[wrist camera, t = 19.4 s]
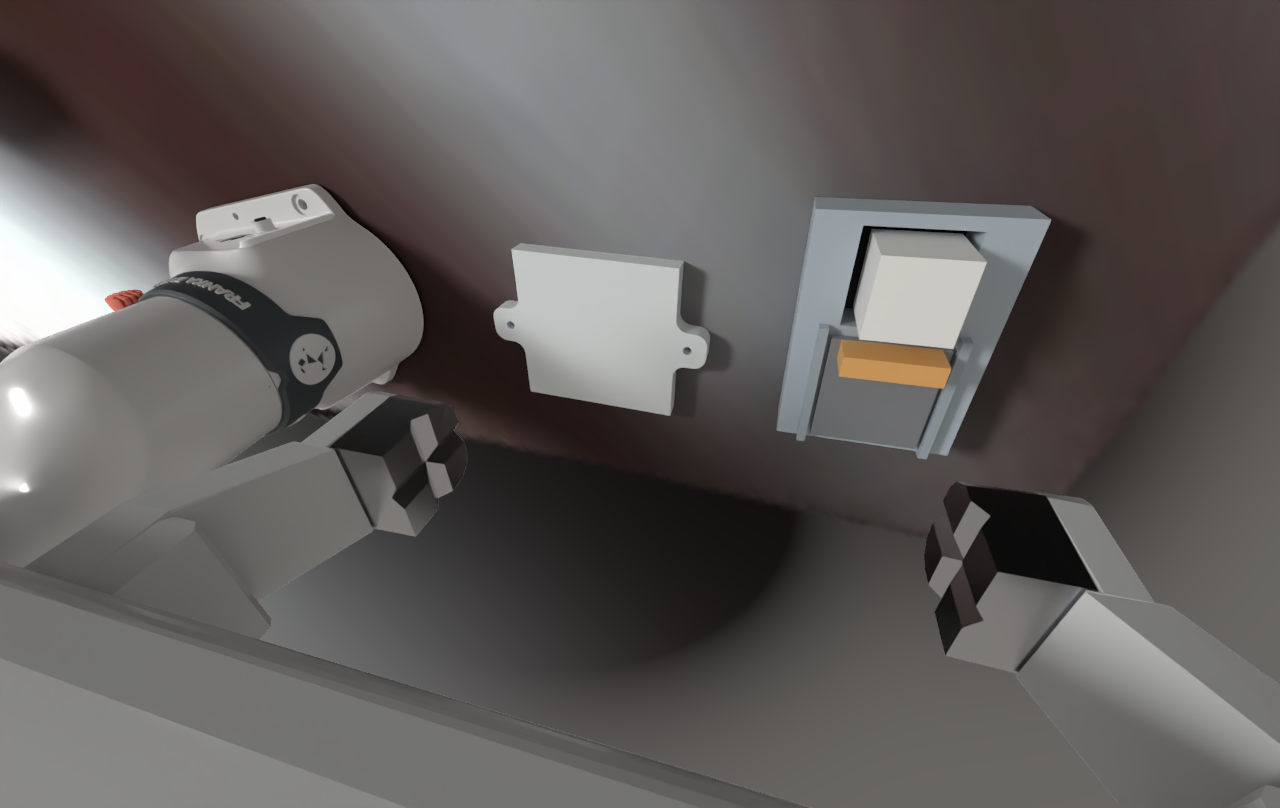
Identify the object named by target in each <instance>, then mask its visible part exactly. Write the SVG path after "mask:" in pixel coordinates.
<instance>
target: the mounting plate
mask: <svg viewBox="0 0 1280 808" xmlns="http://www.w3.org/2000/svg"><path fill="white" fill-rule="evenodd" d="M511 250H512V257H513V265H514V272H515V279H516V287H517V294H518V301H506V302H505V303H503V304H502V305H501V306H500V307H499V308H497V309H496V310H495V312H494V322H495V328H496V331H497V333H498V334H499V336H500V337H502V338H503V339H505V340H509V341H515V342H517V343H519V344H520V345H522V347H523V348H524V350H525V353H526V360H527V368H528V375H529V383H530V390H531V391H532V392H538V393H543V394H549V395H555V396H560V397H566V398H572V399H577V400H583V401H589V402H594V403H600V404H606V405H611V406H617V407H623V408H628V409H634V410H640V411H646V412H651V413H657V414H663V415H668V416H670V415H671V412H672V409H673V407H674V396H675V381H676V370H677V369H679V368H690V369H698V368H700V367H702V366H703V365H704V363H705V361H706V358H707V355H708V352H709V345H710V335H709V332H708V331H707V330H706V329H705V328H703V327H701V326H695V325H690V324H687V323H686V322H685V321H683V319H682V317H681V314H680V309H681V295H682V280H683V266H684V261H677V260H668V259H659V258H650V257H641V256H632V255H623V254H614V253H605V252H595V251H586V250H577V249H568V248H559V247H550V246H541V245H532V244H523V243H520V244H519V245H517V246H516V247H514V248H513V249H511Z"/></svg>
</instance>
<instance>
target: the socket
mask: <svg viewBox="0 0 1280 808" xmlns="http://www.w3.org/2000/svg"><path fill="white" fill-rule="evenodd" d="M1050 222H1051V219H1050V218H1048V217H1047V216H1045V215H1044V214H1042V213H1041V212H1039V211H1038V210H1037V209H1035V208H1034V207H1032V206H1020V205H996V204H971V203H947V202H923V201H898V200H874V199H850V198H825V197H815V200H814V206H813V211H812V217H811V223H810V229H809V234H808V240H807V246H806V252H805V257H804V263H803V269H802V275H801V280H800V286H799V292H798V298H797V303H796V309H795V315H794V321H793V326H792V332H791V338H790V344H789V349H788V355H787V361H786V367H785V373H784V378H783V384H782V390H781V396H780V401H779V407H778V417H777V430H776V431H782V432H789V433H795V434H796V440H799V441H805V437H806V435H809V436H816V437H823V438H830V439H837V440H844V441H850V442H857V443H864V444H871V445H878V446H885V447H892V448H899V449H906V450H912V451H916V455H917V458H921V459H927V457H928V454H929V453H933V454H940V455H948V452H949V450H950V448H951V446H952V443H953V441H954V439H955V437H956V434H957V432H958V430H959V428H960V425H961V423H962V421H963V419H964V416H965V414H966V412H967V410H968V407H969V405H970V403H971V400H972V398H973V396H974V394H975V391H976V389H977V387H978V385H979V382H980V380H981V378H982V376H983V373H984V371H985V369H986V367H987V364H988V362H989V360H990V358H991V355H992V353H993V351H994V349H995V346H996V344H997V342H998V340H999V337H1000V335H1001V333H1002V330H1003V328H1004V326H1005V324H1006V321H1007V319H1008V317H1009V315H1010V312H1011V310H1012V308H1013V306H1014V303H1015V301H1016V299H1017V297H1018V294H1019V292H1020V290H1021V288H1022V285H1023V283H1024V281H1025V279H1026V276H1027V274H1028V272H1029V269H1030V267H1031V265H1032V263H1033V260H1034V258H1035V256H1036V254H1037V251H1038V249H1039V247H1040V245H1041V242H1042V240H1043V238H1044V236H1045V233H1046V231H1047V229H1048V227H1049V224H1050ZM863 226H882V227H901V228H920V229H939V230H958V231H968V232H967V234H966V238H967V239H968V240H969V241H970V243H971V244H972V245H973V246H974V247H975V248H976V250H977V251H978V252H979V253H980V254H981V255H982V257H983V258H984V259H985V260H986V261H987V264H986V266H985V269H984V271H983V274H982V277H981V279H980V282H979V284H978V287H977V289H976V292H975V295H974V297H973V300H972V302H971V305H970V307H969V310H968V313H967V315H966V318H965V320H964V323H963V325H962V328H961V330H960V333H959V336H958V338H957V341H956V343H955V346H954V348H953V353H952V356H951V358H950V361H949V364H950V366H951V372H950V374H949V377H948V379H947V382H946V384H945V387H944V389H941V388H939V389H938V392H937V394H936V397H935V399H934V402H933V405H932V407H931V410H930V412H929V415H928V417H927V420H926V422H925V425H924V428H923V430H922V433H921V435H920V438H919V440H918V443H917V446H916V448H915V449H910V448H903V447H896V446H889V445H882V444H876V443H869V442H862V441H855V440H848V439H841V438H834V437H827V436H820V435H813V434H810V427H811V423H812V419H813V414H814V410H815V405H816V401H817V396H818V392H819V388H820V383H821V379H822V374H823V370H824V365H825V361H826V357H827V352H828V348H829V343H830V339H831V334H834V335H844V336H854V337H859V336H858V330H857V325H856V319H855V314H854V308H844V306H845V302H846V297H847V293H848V289H849V285H850V280H851V276H852V272H853V267H854V263H855V259H856V255H857V250H858V246H859V242H860V238H861V233H862V229H863Z"/></svg>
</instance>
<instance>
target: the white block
mask: <svg viewBox="0 0 1280 808" xmlns="http://www.w3.org/2000/svg"><path fill="white" fill-rule="evenodd" d="M986 264H987V261H986V260H985V259H984V258H983V257H982V255H981V254H980V253H979V252H978V251H977V250H976V248H975V247H974V246H973V245H972V244H971V243H970V241H969V240H968V239H967V238H966V237H965V236H964V234H959V233H941V232H922V231H904V230H885V229H871V233H870V238H869V242H868V246H867V250H866V254H865V258H864V262H863V266H862V270H861V274H860V278H859V283H858V287H857V291H856V295H855V299H854V303H853V308H854V314H855V319H856V325H857V330H858V336H859V339H860V340H869V341H879V342H889V343H899V344H909V345H919V346H929V347H938V348H948V349H953V348H954V346H955V343H956V341H957V338H958V336H959V333H960V330H961V328H962V325H963V323H964V320H965V318H966V315H967V313H968V310H969V307H970V305H971V302H972V300H973V297H974V295H975V292H976V289H977V287H978V284H979V282H980V279H981V277H982V274H983V271H984V269H985V266H986Z"/></svg>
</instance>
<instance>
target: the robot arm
mask: <svg viewBox="0 0 1280 808" xmlns="http://www.w3.org/2000/svg"><path fill="white" fill-rule="evenodd" d="M196 224H197V232H198V237H199V241H200V242H197V243H194V244H191V245H188V246H185V247H182V248H179V249H176V250H174V251H173V252H172V253H171V255H170V258H169V271H170V279H167V280H164V281H162V282H160V283H159V284H157V285H155V286H154V287H153V289H152V290H150V291H148V292H147V293H145V294H143V293H142V291H140V290H128V291H121V292H119V293H114V294H112V295H109V296H108V297H107V298H105V301H106V302H107V304H108V305H109V306H110V307H111V308H112V309H113V310H114V311H115V312H112V313H109V314H107V315H104V316H101V317H99V318H96V319H93V320H91V321H88V322H85V323H83V324H80V325H77V326H75V327H72V328H69V329H67V330H64V331H61V332H59V333H56V334H53V335H50V336H48V337H45V338H42V339H40V340H37V341H34V342H32V343H29V344H26V345H24V346H22V347H20V348H18V349H17V350H15V351H14V352H12V353H11V354H10V355H9V356H8V357H6V358H5V359H4V360H3V361H2V362H1V363H0V808H812V807H808V806H805V805H802V804H798V803H795V802H792V801H788V800H785V799H782V798H779V797H775V796H772V795H769V794H765V793H762V792H759V791H756V790H752V789H749V788H745V787H742V786H739V785H736V784H732V783H729V782H726V781H723V780H719V779H716V778H713V777H710V776H706V775H703V774H700V773H696V772H693V771H690V770H687V769H683V768H680V767H676V766H673V765H670V764H667V763H663V762H660V761H657V760H654V759H650V758H647V757H644V756H640V755H637V754H634V753H630V752H627V751H624V750H620V749H617V748H614V747H611V746H607V745H604V744H600V743H597V742H594V741H591V740H588V739H584V738H581V737H578V736H575V735H571V734H568V733H564V732H562V731H558V730H555V729H551V728H548V727H545V726H542V725H538V724H535V723H531V722H528V721H525V720H522V719H519V718H515V717H512V716H509V715H505V714H502V713H499V712H496V711H492V710H489V709H486V708H483V707H479V706H476V705H473V704H469V703H466V702H463V701H460V700H456V699H453V698H449V697H446V696H443V695H440V694H437V693H433V692H430V691H427V690H423V689H420V688H417V687H413V686H410V685H407V684H404V683H400V682H397V681H394V680H390V679H387V678H384V677H380V676H377V675H374V674H371V673H367V672H364V671H360V670H357V669H354V668H351V667H347V666H344V665H341V664H337V663H334V662H331V661H328V660H324V659H321V658H318V657H314V656H311V655H308V654H305V653H301V652H298V651H295V650H291V649H288V648H285V647H281V646H278V645H275V644H272V643H268V642H265V641H261V640H259V639H260V638H261V637H262V636H263V635H264V634H265V633H266V632H267V630H268V629H269V628H270V626H271V618H270V616H269V615H268V614H267V613H266V611H265V610H264V609H263V607H262V606H261V605H260V604H259V602H258V601H260V600H261V599H263V598H265V597H266V596H268V595H269V594H271V593H273V592H274V591H276V590H278V589H279V588H281V587H283V586H284V585H286V584H288V583H289V582H291V581H292V580H294V579H296V578H297V577H299V576H301V575H302V574H304V573H306V572H307V571H309V570H310V569H312V568H314V567H315V566H317V565H318V564H320V563H322V562H323V561H325V560H327V559H328V558H330V557H332V556H333V555H335V554H336V553H338V552H340V551H341V550H343V549H345V548H346V547H348V546H350V545H351V544H353V543H354V542H356V541H358V540H359V539H361V538H363V537H364V536H366V535H368V534H369V533H371V532H372V531H373V528H374V529H379V530H385V531H390V532H395V533H400V534H406V535H411V536H417V535H418V533H419V532H420V531H421V530H422V528H423V527H424V526H425V525H426V523H427V522H428V521H429V520H430V518H431V517H432V516H433V515H434V514H435V512H436V511H437V510H438V507H439V506H438V498H439V497H441V496H443V495H445V494H447V493H449V492H451V491H453V490H454V488H455V487H456V486H457V484H458V483H459V482H460V481H461V479H462V477H463V474H464V471H465V468H466V465H467V451H466V447H465V443H464V441H463V440H462V439H461V438H460V437H459V436H458V435H457V433H456V432H455V431H454V430H455V428H456V426H457V424H458V419H457V416H456V413H455V410H454V407H452V406H450V405H448V404H447V403H444V402H438V401H433V400H427V399H421V398H416V397H410V396H405V395H396V394H391V393H385V392H380V391H374V392H368V393H365V394H364V395H363V396H361V397H360V398H359V399H357V400H356V401H355V402H354V403H352V404H351V405H350V406H348V407H347V408H346V409H344V410H343V411H342V412H341V413H339V414H338V415H337V416H335V417H334V418H333V419H331V420H330V421H329V422H327V423H326V424H325V425H324V426H322V427H321V428H320V429H318V430H317V431H316V432H314V433H313V434H312V435H311V436H309V437H308V438H307V439H305V440H304V441H303V442H301V443H298V442H291V443H288V444H285V445H283V446H280V447H277V448H274V449H271V450H268V451H265V452H263V453H260V454H257V455H254V456H251V457H248V458H246V459H243V460H240V461H237V462H234V463H232V464H229V465H226V466H224V465H225V464H227V463H228V462H229V461H231V460H232V459H233V458H235V457H236V456H237V455H239V454H240V453H241V452H243V451H244V450H245V449H247V448H248V447H249V446H251V445H252V444H253V443H255V442H256V441H258V440H259V439H260V438H262V437H263V436H267V435H273V434H276V433H278V432H280V431H282V430H283V429H285V428H286V427H289V426H291V425H293V424H295V423H296V422H298V421H299V420H301V419H302V418H303V417H304V416H305V414H307V413H308V412H310V411H311V410H312V409H314V408H318V409H320V410H323V409H327V408H330V407H332V406H333V405H335V404H337V403H338V402H340V401H342V400H343V399H345V398H347V397H348V396H350V395H352V394H353V393H355V392H356V391H358V390H360V389H361V388H363V387H365V386H366V385H368V384H369V383H371V382H374V383H377V384H385V383H387V382H388V381H390V380H392V379H393V377H394V376H395V373H396V371H397V368H398V364H399V363H400V362H401V361H402V360H404V359H405V358H407V357H408V356H410V355H411V354H412V353H413V352H414V351H415V350H416V348H417V347H418V345H419V343H420V341H421V338H422V334H423V325H424V321H423V311H422V306H421V303H420V299H419V296H418V294H417V291H416V289H415V286H414V284H413V282H412V280H411V278H410V277H409V275H408V273H407V272H406V270H405V269H404V267H403V266H402V264H401V263H400V261H399V260H398V259H397V258H396V256H395V255H394V254H393V253H392V252H391V251H390V250H389V248H388V247H387V246H386V245H385V244H384V243H382V242H381V241H380V240H379V239H378V238H377V237H376V236H375V235H373V234H372V233H371V232H369V231H368V230H366V229H365V228H364V227H362V226H361V225H359V224H358V223H356V222H355V221H354V220H353V219H351V218H350V217H349V216H348V215H347V214H346V213H345V212H344V211H343V209H342V208H341V207H340V206H339V204H338V203H337V202H336V201H335V200H334V199H333V197H332V196H331V195H330V194H329V193H328V192H327V191H326V190H325V189H323V188H322V187H321V186H319V185H316V184H310V185H305V186H301V187H297V188H293V189H288V190H284V191H280V192H276V193H271V194H267V195H263V196H259V197H254V198H250V199H246V200H242V201H237V202H233V203H229V204H225V205H220V206H216V207H212V208H208V209H206V210H204V211H201V212H199V213H198V214H197V216H196ZM943 502H944V505H945V508H946V512H947V515H946V516H944V517H942V518H940V519H938V520H936V521H934V522H933V524H932V526H931V529H930V531H929V534H928V536H927V539H926V546H925V554H924V561H925V571H926V576H927V581H928V585H929V586H930V587H931V588H932V589H933V590H934V591H935V592H936V593H937V594H938V595H939V596H940V597H941V601H940V602H939V604H938V606H937V608H936V610H935V615H936V620H937V624H938V628H939V632H940V636H941V640H942V644H943V649H944V653H945V656H948V657H952V658H957V659H960V660H964V661H968V662H972V663H976V664H980V665H984V666H988V667H992V668H996V669H1001V670H1004V671H1008V672H1013V673H1017V675H1016V678H1017V679H1018V680H1019V682H1020V683H1021V684H1022V685H1023V687H1024V688H1025V689H1026V690H1027V691H1028V693H1029V694H1030V695H1031V696H1032V698H1033V699H1034V700H1035V701H1036V702H1037V704H1038V705H1039V706H1040V708H1041V709H1042V710H1043V711H1044V713H1045V714H1046V715H1047V716H1048V717H1049V719H1050V720H1051V721H1052V722H1053V724H1054V725H1055V726H1056V727H1057V729H1058V730H1059V731H1060V732H1061V733H1062V735H1063V736H1064V737H1065V738H1066V740H1067V741H1068V742H1069V743H1070V745H1071V746H1072V747H1073V748H1074V750H1075V751H1076V752H1077V753H1078V755H1079V756H1080V757H1081V758H1082V759H1083V761H1084V762H1085V763H1086V764H1087V766H1088V767H1089V768H1090V769H1091V771H1092V772H1093V773H1094V774H1095V776H1096V777H1097V778H1098V779H1099V780H1100V782H1101V783H1102V784H1103V785H1104V787H1105V788H1106V789H1107V790H1108V791H1109V793H1110V794H1111V795H1112V796H1113V798H1114V799H1115V800H1116V801H1117V803H1118V804H1119V805H1120V806H1121V808H1280V685H1279V684H1278V683H1276V682H1275V681H1274V680H1272V679H1271V678H1270V677H1268V676H1267V675H1265V674H1264V673H1262V672H1261V671H1260V670H1258V669H1257V668H1256V667H1254V666H1253V665H1252V664H1250V663H1249V662H1247V661H1246V660H1244V659H1243V658H1242V657H1240V656H1239V655H1238V654H1236V653H1235V652H1233V651H1232V650H1231V649H1229V648H1228V647H1227V646H1225V645H1224V644H1222V643H1221V642H1220V641H1218V640H1217V639H1215V638H1214V637H1213V636H1211V635H1210V634H1209V633H1207V632H1206V631H1204V630H1203V629H1202V628H1200V627H1199V626H1197V625H1196V624H1195V623H1193V622H1192V621H1191V620H1189V619H1188V618H1186V617H1185V616H1184V615H1182V614H1181V613H1179V612H1178V611H1177V610H1175V609H1174V608H1172V607H1171V606H1166V605H1161V604H1156V603H1155V602H1154V601H1153V599H1152V598H1151V596H1150V595H1149V593H1148V591H1147V590H1146V588H1145V587H1144V585H1143V584H1142V582H1141V580H1140V579H1139V577H1138V576H1137V574H1136V573H1135V571H1134V570H1133V568H1132V567H1131V565H1130V563H1129V562H1128V561H1127V559H1126V557H1125V556H1124V554H1123V553H1122V551H1121V550H1120V548H1119V546H1118V545H1117V543H1116V542H1115V540H1114V539H1113V537H1112V535H1111V534H1110V532H1109V531H1108V529H1107V528H1106V526H1105V525H1104V523H1103V522H1102V520H1101V518H1100V517H1099V515H1098V514H1097V512H1096V511H1095V509H1094V508H1093V506H1092V505H1091V504H1090V503H1088V502H1087V501H1085V500H1084V499H1082V498H1076V497H1068V496H1061V495H1053V494H1046V493H1032V492H1025V491H1018V490H1012V489H1005V488H998V487H991V486H985V485H978V484H971V483H964V482H958V481H956V482H955V483H954V484H953V485H952V486H951V487H950V488H949V490H948V492H947V494H946V496H945V498H944V500H943Z"/></svg>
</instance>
